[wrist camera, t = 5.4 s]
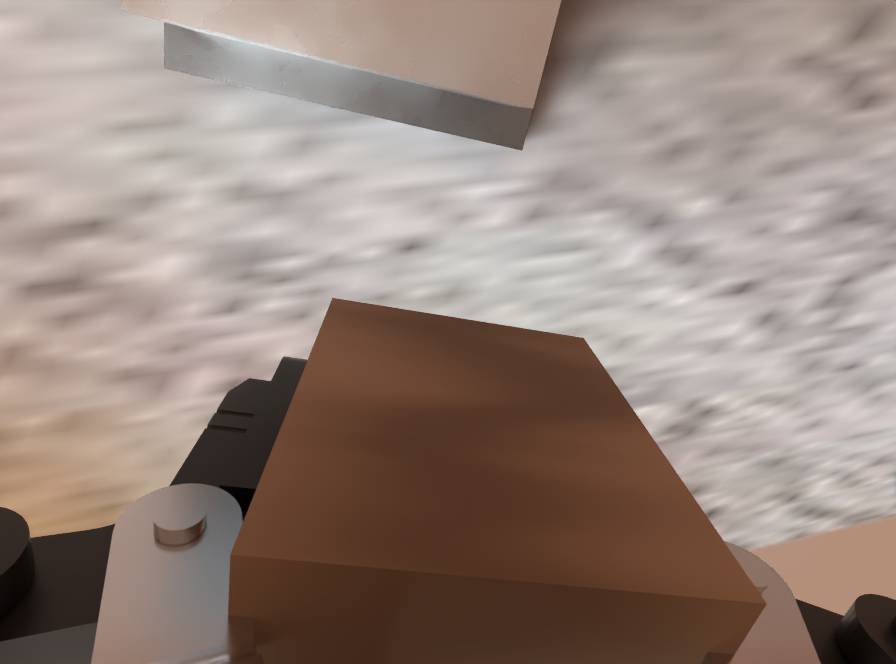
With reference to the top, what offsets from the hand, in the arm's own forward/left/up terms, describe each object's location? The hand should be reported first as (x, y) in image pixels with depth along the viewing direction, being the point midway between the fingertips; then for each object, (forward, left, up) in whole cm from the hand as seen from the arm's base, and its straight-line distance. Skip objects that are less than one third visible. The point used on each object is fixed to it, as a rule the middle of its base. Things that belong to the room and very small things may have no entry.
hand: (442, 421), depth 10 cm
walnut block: (0, 0, -1) cm, 1 cm away
